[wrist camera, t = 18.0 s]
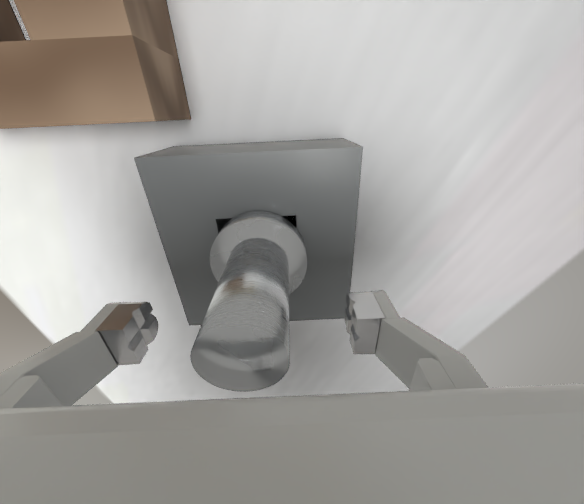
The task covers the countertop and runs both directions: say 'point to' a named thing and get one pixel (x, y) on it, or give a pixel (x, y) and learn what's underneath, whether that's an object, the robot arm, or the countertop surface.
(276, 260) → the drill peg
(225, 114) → the countertop surface
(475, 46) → the countertop surface
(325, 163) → the grey square holed piece
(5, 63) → the socket block
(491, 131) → the countertop surface
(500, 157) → the countertop surface
